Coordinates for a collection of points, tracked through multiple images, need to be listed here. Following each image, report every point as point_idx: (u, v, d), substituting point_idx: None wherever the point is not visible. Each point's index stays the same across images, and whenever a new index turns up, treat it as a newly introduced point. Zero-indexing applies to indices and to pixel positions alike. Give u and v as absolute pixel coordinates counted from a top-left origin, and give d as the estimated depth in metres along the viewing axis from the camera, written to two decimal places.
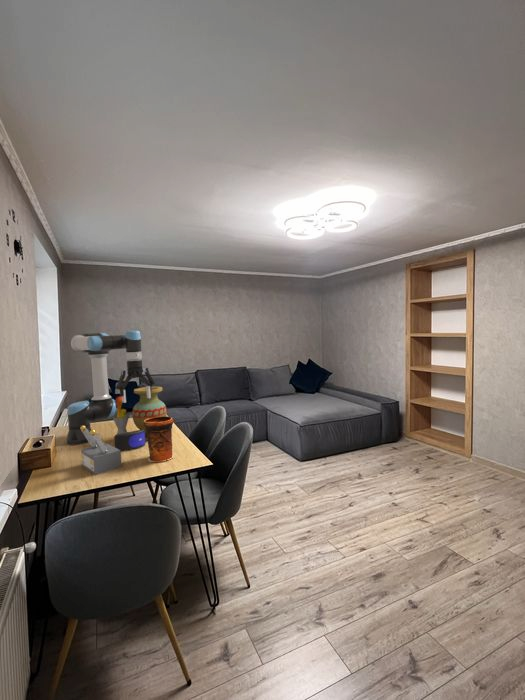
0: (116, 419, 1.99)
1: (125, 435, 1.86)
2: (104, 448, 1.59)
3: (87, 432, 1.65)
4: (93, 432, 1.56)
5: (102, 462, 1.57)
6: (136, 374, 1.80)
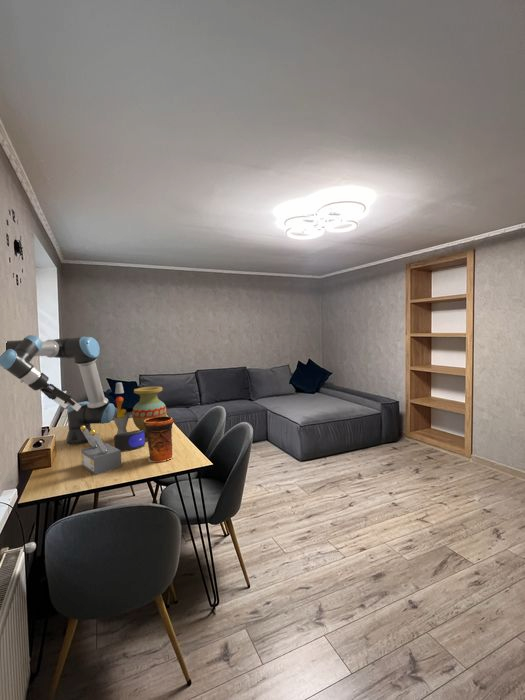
0: (116, 419, 1.99)
1: (125, 435, 1.86)
2: (104, 448, 1.59)
3: (87, 432, 1.65)
4: (93, 432, 1.56)
5: (102, 462, 1.57)
6: None
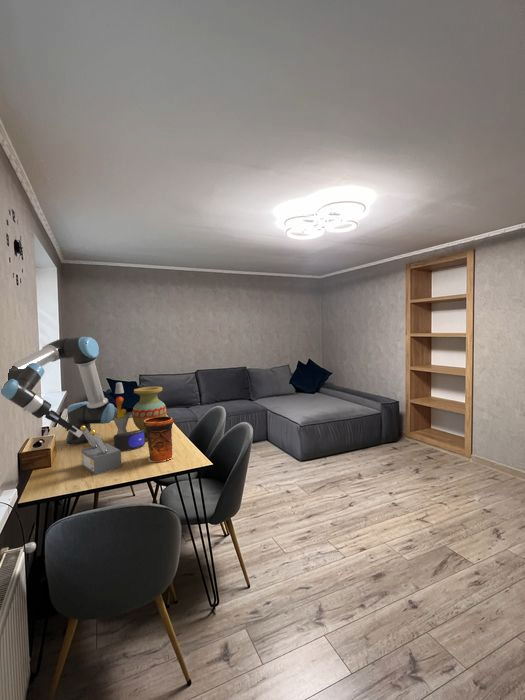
0: (116, 419, 1.99)
1: (125, 435, 1.86)
2: (104, 448, 1.59)
3: (87, 432, 1.65)
4: (93, 432, 1.56)
5: (102, 462, 1.57)
6: None
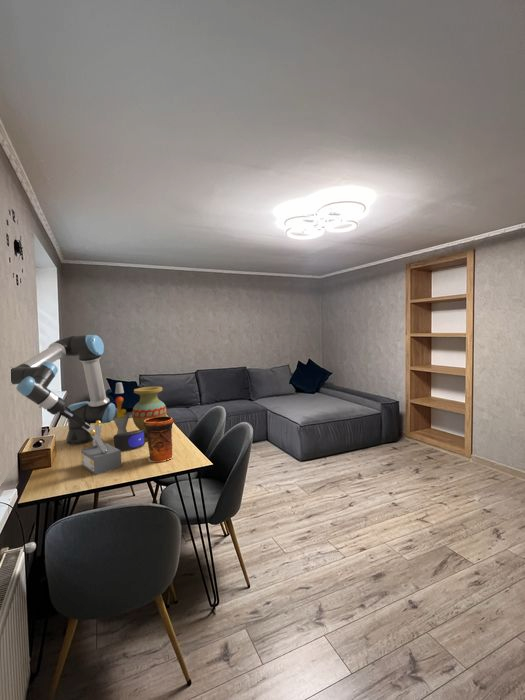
0: (116, 419, 1.99)
1: (125, 435, 1.86)
2: (104, 448, 1.59)
3: (99, 428, 1.69)
4: (93, 432, 1.56)
5: (102, 462, 1.57)
6: None
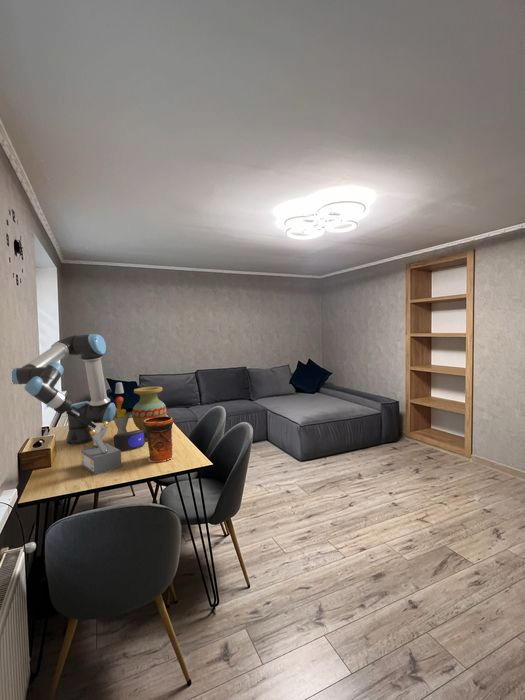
0: (116, 419, 1.99)
1: (124, 435, 1.86)
2: (104, 448, 1.59)
3: (105, 429, 1.71)
4: (93, 432, 1.56)
5: (102, 462, 1.57)
6: None
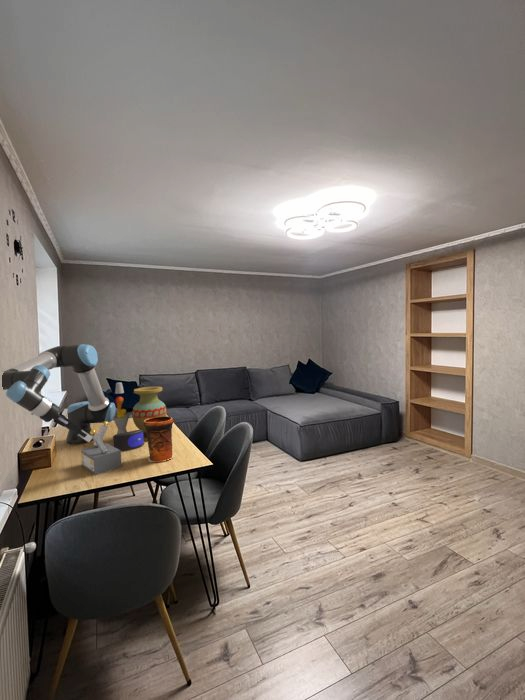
0: (116, 419, 1.99)
1: (124, 435, 1.86)
2: (104, 448, 1.59)
3: (105, 429, 1.71)
4: (93, 432, 1.56)
5: (102, 462, 1.57)
6: (59, 422, 1.46)
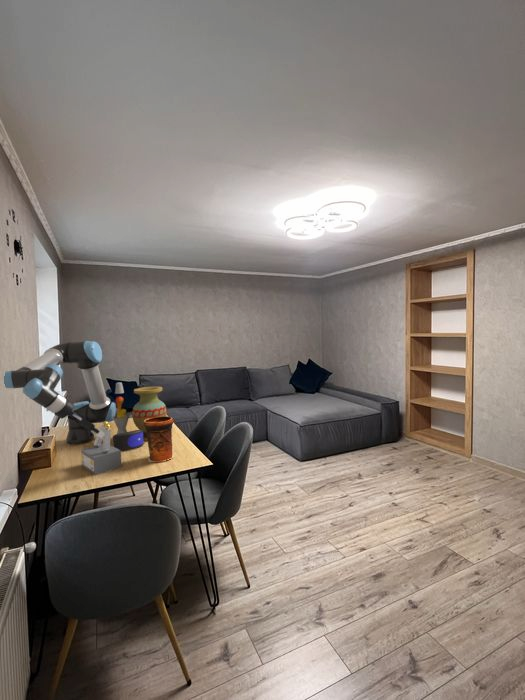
0: (116, 419, 1.99)
1: (124, 435, 1.86)
2: (107, 447, 1.60)
3: None
4: (108, 426, 1.61)
5: (102, 462, 1.57)
6: None
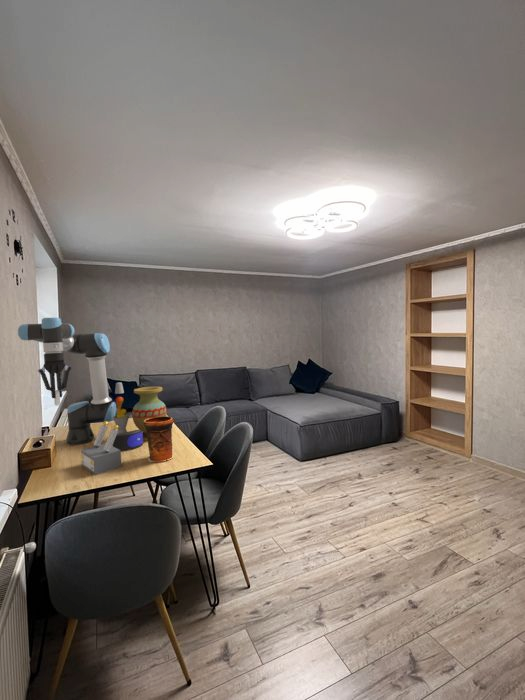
0: (116, 419, 1.99)
1: (124, 435, 1.86)
2: (109, 447, 1.61)
3: (105, 429, 1.71)
4: (116, 427, 1.64)
5: (102, 462, 1.57)
6: (56, 369, 1.53)
